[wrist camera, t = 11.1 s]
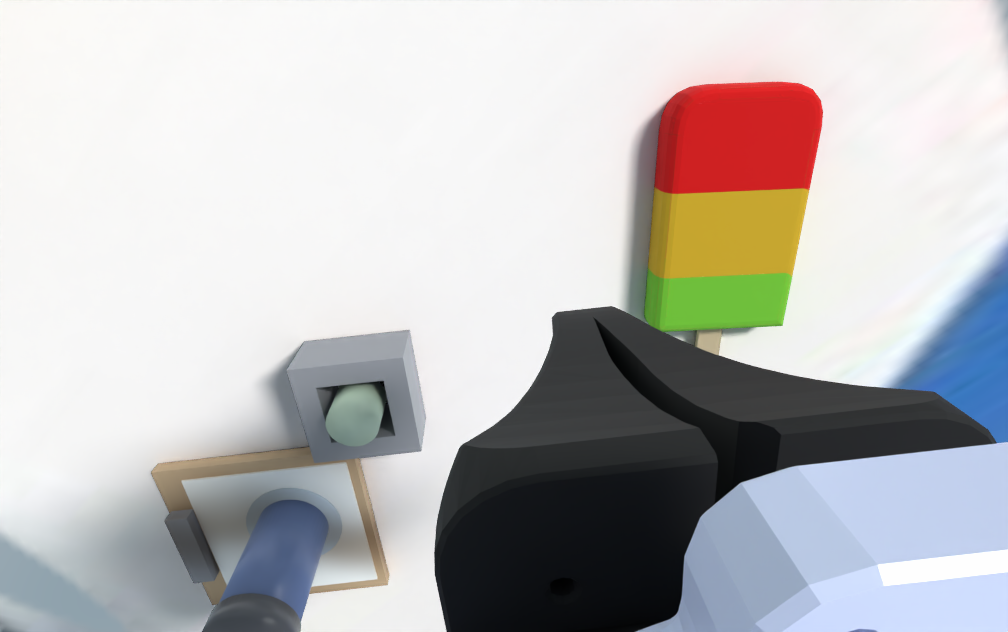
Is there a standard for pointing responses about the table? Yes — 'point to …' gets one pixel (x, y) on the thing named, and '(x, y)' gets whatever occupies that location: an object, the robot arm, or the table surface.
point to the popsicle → (729, 206)
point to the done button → (356, 413)
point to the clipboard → (242, 498)
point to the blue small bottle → (273, 571)
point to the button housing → (354, 363)
